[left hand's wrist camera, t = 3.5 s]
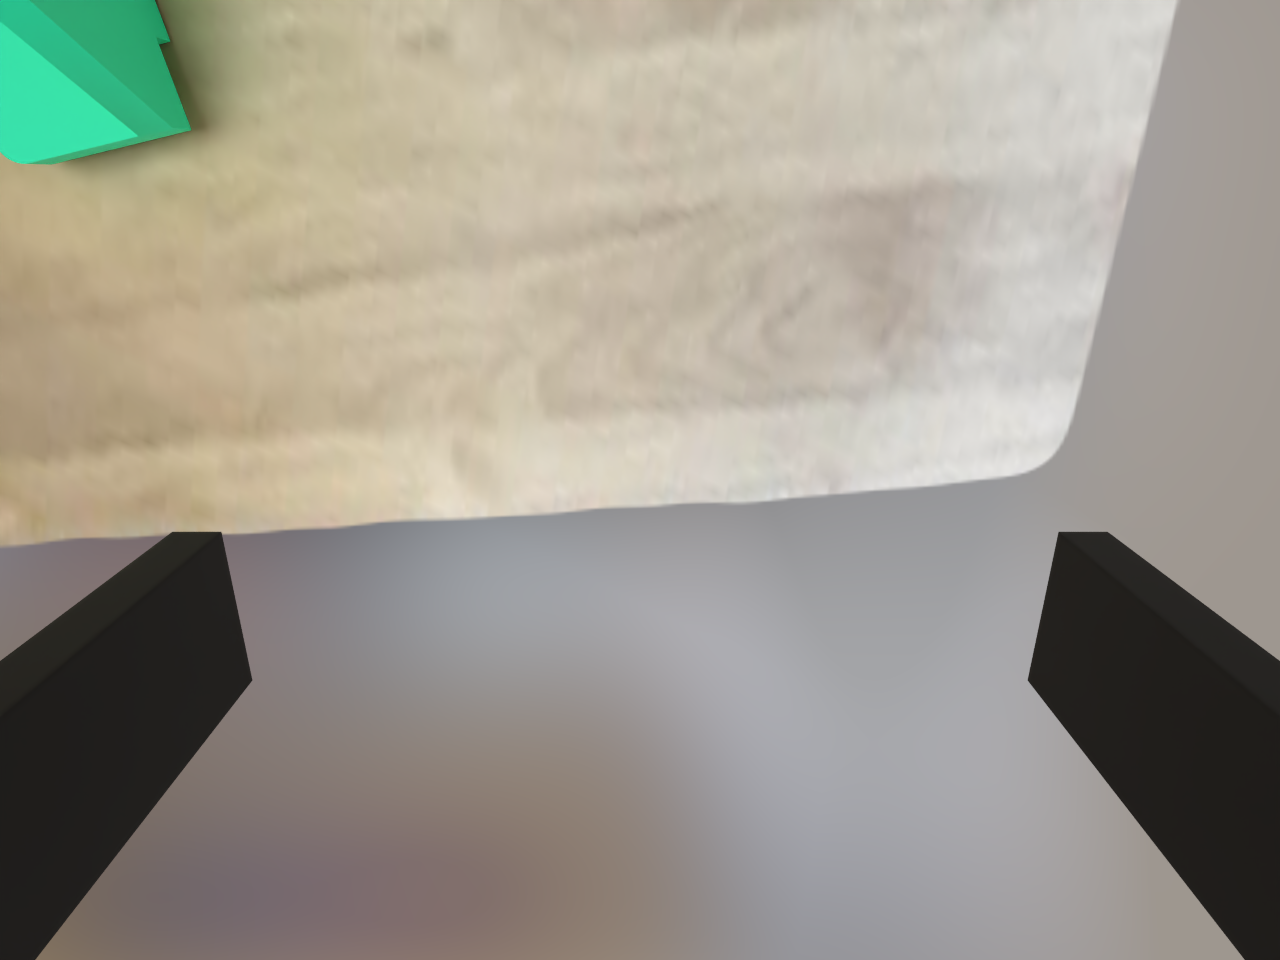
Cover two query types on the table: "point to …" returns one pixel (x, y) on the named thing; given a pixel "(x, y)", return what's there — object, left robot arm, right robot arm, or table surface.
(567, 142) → the table surface
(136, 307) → the table surface
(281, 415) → the table surface
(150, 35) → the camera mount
